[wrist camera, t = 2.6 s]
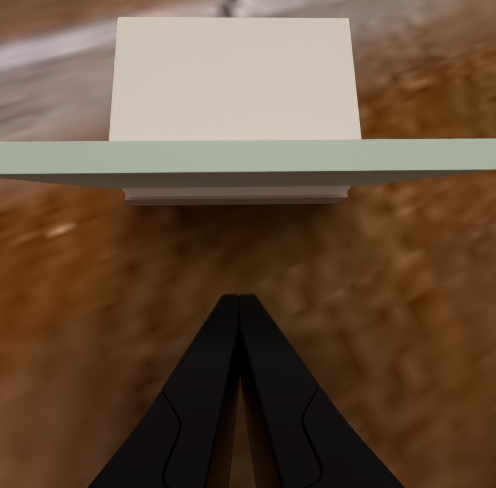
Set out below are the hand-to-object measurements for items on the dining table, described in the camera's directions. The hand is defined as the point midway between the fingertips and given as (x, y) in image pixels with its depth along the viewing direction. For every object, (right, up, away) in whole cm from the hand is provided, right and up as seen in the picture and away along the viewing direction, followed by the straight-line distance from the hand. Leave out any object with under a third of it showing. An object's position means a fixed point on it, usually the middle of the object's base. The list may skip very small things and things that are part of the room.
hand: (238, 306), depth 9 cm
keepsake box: (-1, +9, +16) cm, 19 cm away
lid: (0, +5, +5) cm, 7 cm away
